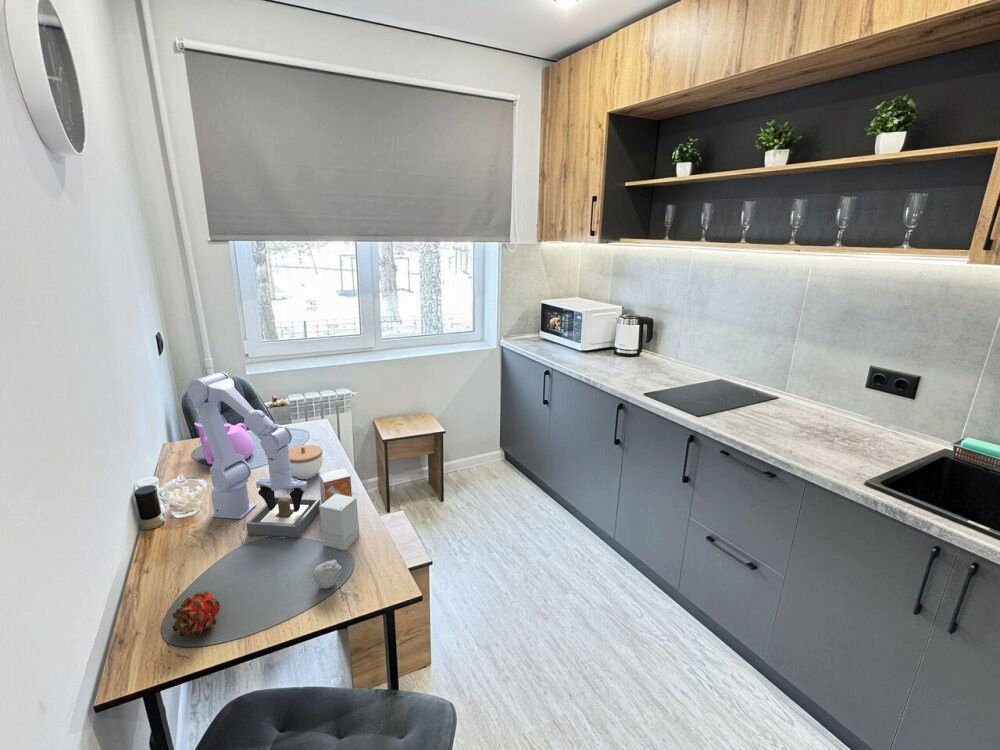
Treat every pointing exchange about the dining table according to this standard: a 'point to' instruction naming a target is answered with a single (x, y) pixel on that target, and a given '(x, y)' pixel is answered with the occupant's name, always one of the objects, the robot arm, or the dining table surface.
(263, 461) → the dining table surface
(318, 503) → the square hole block
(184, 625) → the dragon fruit
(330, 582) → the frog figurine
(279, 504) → the peg
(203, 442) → the teapot
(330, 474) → the small box
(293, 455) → the lidded bowl
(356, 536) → the supplement box
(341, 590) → the dining table surface
